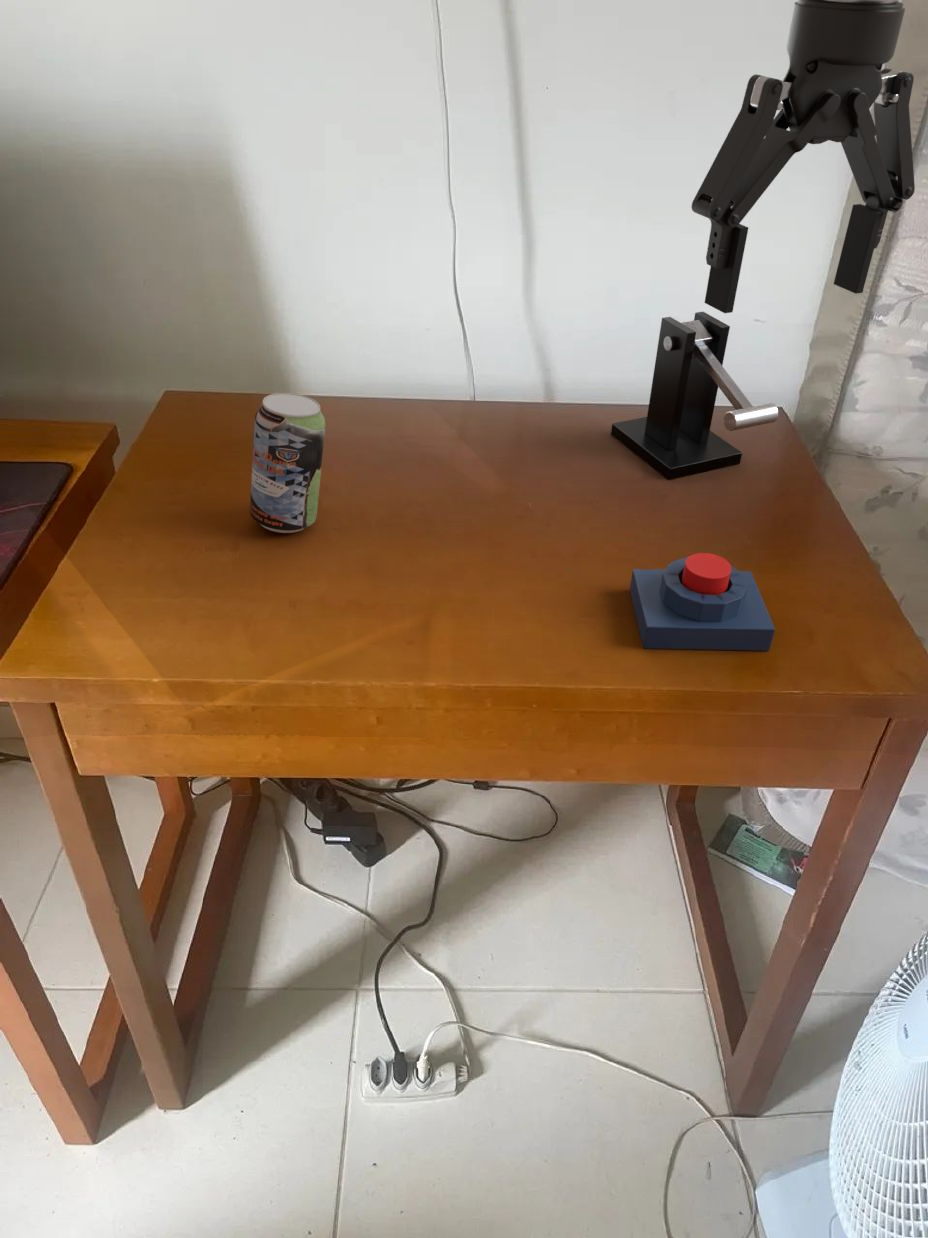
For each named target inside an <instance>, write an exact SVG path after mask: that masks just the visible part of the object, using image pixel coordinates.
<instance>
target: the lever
mask: <svg viewBox="0 0 928 1238" xmlns="http://www.w3.org/2000/svg"><path fill="white" fill-rule="evenodd" d="M681 323H682V324H683V325H685V326H687V327H689V328H690V329H692V330H694V331H695V332H696V336H695V342H694V348H693V353H692V359H693V358H697V359H698V360H699V361H700V363H701V364H702V365H703V367H704V368H705V369H706V371H707V372H708V373H709V375H710V376H711V377H712V379H713V380H714V381H715V383H716V384H717V385H718V389H720V391H721V392H722V393H723V395H724V396H725V398H726V400H728V401H729V404H731V406H732V407H733V408H734V409H735V410H729V411H727V412H726V413H725V414H724V416H723V425H724V427H725V429H726V430H727V431H729V432H734V431H738V430H743V429H748V428H752V427H757V426H763V425H767V424H772V423H775V422H777V420H778V418H779V408H778V407H777V405H776V404H775V403H772V402H771V403H765V404H760V405H755V406H753V404H752V403H751V402H750V401H749V399H748V398H747V396H746V395H745V393H744V392H743V391H742V390H741V389H740V387H739V386H738V384H737V383H736V382H735V381H734V380H733V378H732V377H731V375H730V374H729V373H728V372H727V370H726V369H725V368H724V366H723V365H721V364H720V362H719V361H718V360H717V359H716V357H715V356H714V355H713V353H712V352H711V351H710V349H709V348H708V347H709V345H710V343H711V341H712V339H713V337H712V336H711V335H710V334H709V332H708V331H707V330H706V328H705V327H704V326H703V324H702V323H701V322H700V321H699V320H694V319H693V320H689V321H683V322H681Z"/></svg>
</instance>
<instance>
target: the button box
mask: <svg viewBox="0 0 928 1238" xmlns="http://www.w3.org/2000/svg"><path fill="white" fill-rule="evenodd" d="M688 557H689V556H686V557H683V558H679V559H676V560H674V561H671V562H670V563H669V564H668V565H667V566H666V568H665V569H656V568H655V569H653V568H652V569H650V568H649V569H648V568H647V569H646V568H644V569H643V568H633V569H632V573H631V579H630V585H629V593H630V597H631V601H632V605H633V610H634V615H635V618H636V623H637V627H638V631H639V636H640V640H641V645H642V648H643V649H651V650H652V649H653V650H656V649H657V650H700V651H706V650H707V651H752V652H755V651H756V652H757V651H758V652H760V651H761V652H769V651H770V649H771V646H772V642H773V639H774V636H775V631H776V628H775V626H774V623H773V621H772V618H771V616H770V614H769V611H768V609H767V606H766V604H765V601H764V599H763V597H762V595H761V592H760V590H759V587H758V584H757V581H756V580H755V577H754V575H753V572H752V571H747V570H746V571H745V570H738V569H737V568H735V567H734V566H732V565H731V574H730V578H729V583H728V587H727V590H726V591H725V592H724V593H722V594H719V595H702V594H699V593H696V592H693V591H690V590H689V589H687V588H686V587H685V586H684V585H683V583H682V576H683V570H684V565H685V561H686V559H687V558H688Z"/></svg>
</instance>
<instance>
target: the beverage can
mask: <svg viewBox="0 0 928 1238" xmlns="http://www.w3.org/2000/svg"><path fill="white" fill-rule="evenodd" d="M325 433H326V419H325V416H324V414H323V413H322V411H321V405H320V403H319V402H318V401H317V400H315V399H313V398H311V397H309V396H306V395H303V394H299V393H293V392H292V393H291V392H277V393H271V394H269V395H266V396H264V398H263V399H262V404H261V405H260V406H259V407H258V408H257V410H256V412H255V414H254V425H253V444H252V462H251V463H252V464H251V479H250V480H251V483H250V484H251V485H250V499H249V500H250V501H249V514H250V516H251V517H250V518H252V519H253V520H254V521H255V522H256V523H258V524H259V525H260V526H261V527H263V528H264V529H266V530H268V531H271V532H273V533H274V532H275V533H280V534H281V533H282V534H292V533H297V532H300V531H303V530H305V529H306V528H308V527H311V526H312V525H313V524H315V522H316V520H317V517H318V507H319V496H320V485H321V475H322V466H323V465H322V463H323V454H324V444H325Z"/></svg>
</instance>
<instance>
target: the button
mask: <svg viewBox="0 0 928 1238" xmlns="http://www.w3.org/2000/svg"><path fill="white" fill-rule="evenodd" d="M687 557H688V558H687V559H686V561H685V565H684V570H683V576H682V583H683V585H684V586H685V587H686V588H687V589H689V590H690V591H693V592H696V593H699V594H702V595H719V594H722V593H724V592H725V591H726V590H727V587H728V583H729V578H730V574H731V566H732V565H731V563H729V561H728V560H727V559H726V558H723V557H722V556H719V555H718V554H713V553H708V552H698V553H694V554H691V555H689V556H687Z"/></svg>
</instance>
